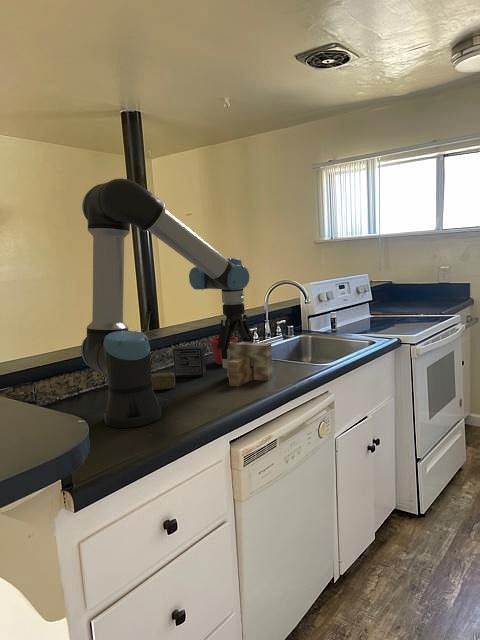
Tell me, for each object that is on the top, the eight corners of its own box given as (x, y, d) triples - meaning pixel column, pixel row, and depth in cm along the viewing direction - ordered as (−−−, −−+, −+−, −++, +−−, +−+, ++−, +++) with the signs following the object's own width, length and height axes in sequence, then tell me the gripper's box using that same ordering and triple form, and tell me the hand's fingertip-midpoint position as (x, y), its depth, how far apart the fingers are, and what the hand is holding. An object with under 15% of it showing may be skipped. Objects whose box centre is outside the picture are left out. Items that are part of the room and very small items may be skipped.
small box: (206, 372, 180) (204, 344, 178) (203, 376, 173) (201, 347, 172) (178, 373, 181) (176, 345, 180) (174, 377, 175) (172, 349, 173)
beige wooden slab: (272, 378, 166) (271, 343, 164) (268, 380, 163) (266, 345, 161) (232, 374, 174) (230, 341, 172) (227, 377, 171) (225, 343, 169)
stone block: (175, 389, 159) (174, 374, 159) (140, 392, 158) (138, 377, 158) (176, 384, 165) (174, 370, 164) (141, 387, 164) (140, 373, 163)
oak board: (238, 386, 158) (237, 362, 157) (229, 385, 160) (227, 361, 159) (268, 370, 177) (267, 349, 176) (260, 369, 179) (259, 348, 178)
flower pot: (213, 360, 200) (211, 336, 198) (239, 358, 199) (238, 335, 198) (210, 366, 189) (208, 341, 188) (238, 364, 189) (237, 340, 187)
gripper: (223, 307, 155) (227, 372, 158) (259, 299, 176) (262, 356, 179) (204, 307, 158) (208, 371, 161) (241, 299, 180) (244, 355, 183)
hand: (236, 363), depth 170 cm, fingers open, 13 cm apart
